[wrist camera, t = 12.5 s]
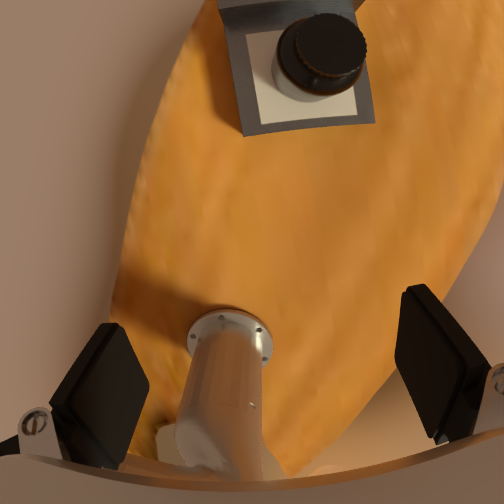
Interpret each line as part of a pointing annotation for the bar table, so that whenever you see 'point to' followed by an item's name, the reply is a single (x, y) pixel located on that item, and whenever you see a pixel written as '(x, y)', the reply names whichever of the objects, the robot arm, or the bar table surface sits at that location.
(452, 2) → the bar table surface
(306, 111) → the shelf block
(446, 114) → the bar table surface
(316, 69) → the supplement bottle
